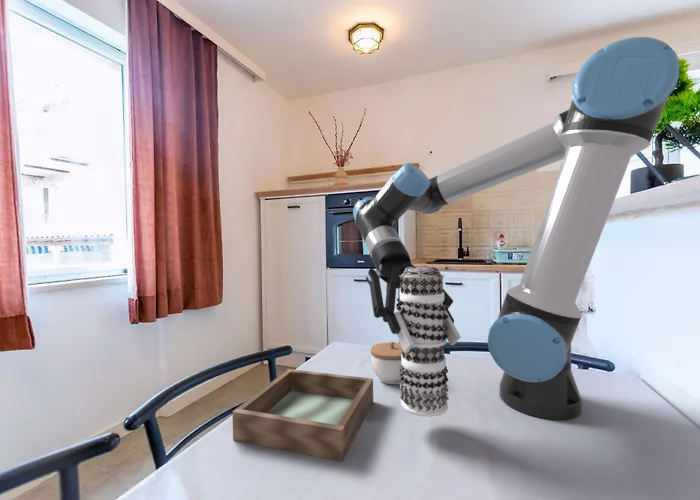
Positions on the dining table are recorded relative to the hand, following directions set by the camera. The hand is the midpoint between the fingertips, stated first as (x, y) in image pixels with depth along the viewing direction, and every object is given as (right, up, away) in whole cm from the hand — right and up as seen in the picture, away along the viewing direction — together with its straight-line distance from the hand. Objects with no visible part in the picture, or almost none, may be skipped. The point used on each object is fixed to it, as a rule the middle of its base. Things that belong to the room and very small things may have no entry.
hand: (433, 344), depth 57 cm
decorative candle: (-1, -12, +3) cm, 12 cm away
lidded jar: (-4, -16, +26) cm, 31 cm away
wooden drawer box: (-22, -17, +8) cm, 29 cm away
